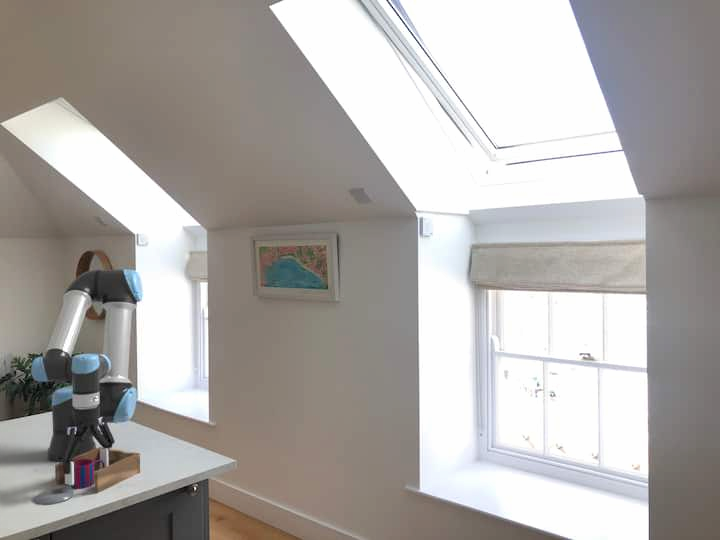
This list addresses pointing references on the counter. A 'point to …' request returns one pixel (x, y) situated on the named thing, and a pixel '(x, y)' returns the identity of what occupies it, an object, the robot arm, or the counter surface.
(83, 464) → the mug
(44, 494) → the slate coaster
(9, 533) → the counter surface
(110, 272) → the robot arm
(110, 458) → the walnut bay
